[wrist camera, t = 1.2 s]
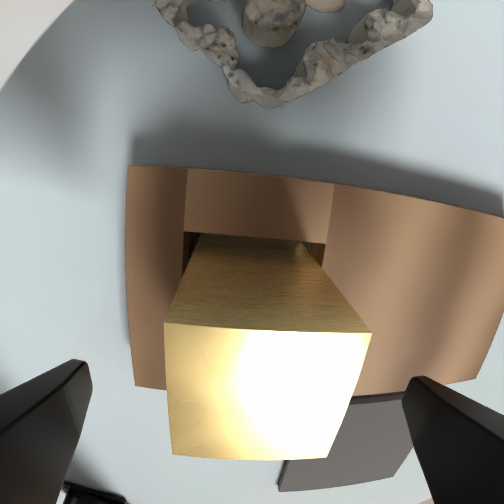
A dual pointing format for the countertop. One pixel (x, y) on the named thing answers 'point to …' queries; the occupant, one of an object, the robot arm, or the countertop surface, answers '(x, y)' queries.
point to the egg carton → (282, 30)
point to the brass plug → (259, 352)
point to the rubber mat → (356, 448)
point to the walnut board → (327, 264)
